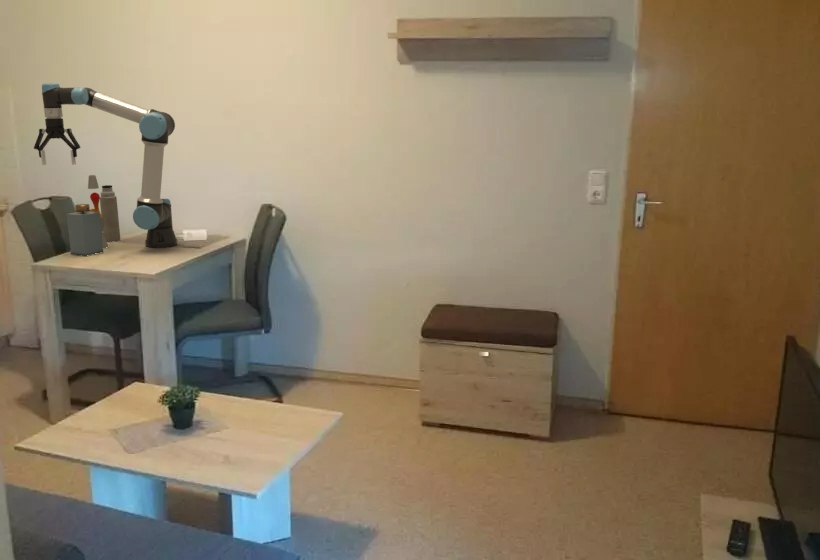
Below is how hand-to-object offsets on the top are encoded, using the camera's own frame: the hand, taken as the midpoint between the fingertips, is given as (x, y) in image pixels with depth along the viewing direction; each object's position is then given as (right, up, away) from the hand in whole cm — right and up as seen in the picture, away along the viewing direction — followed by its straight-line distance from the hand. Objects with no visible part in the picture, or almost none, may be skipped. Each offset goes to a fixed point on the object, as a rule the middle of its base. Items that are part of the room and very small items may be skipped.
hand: (59, 164), depth 358 cm
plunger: (+12, -40, +2) cm, 42 cm away
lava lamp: (+12, -38, +16) cm, 43 cm away
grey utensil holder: (+12, -41, +2) cm, 43 cm away
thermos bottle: (+11, -34, +35) cm, 50 cm away
